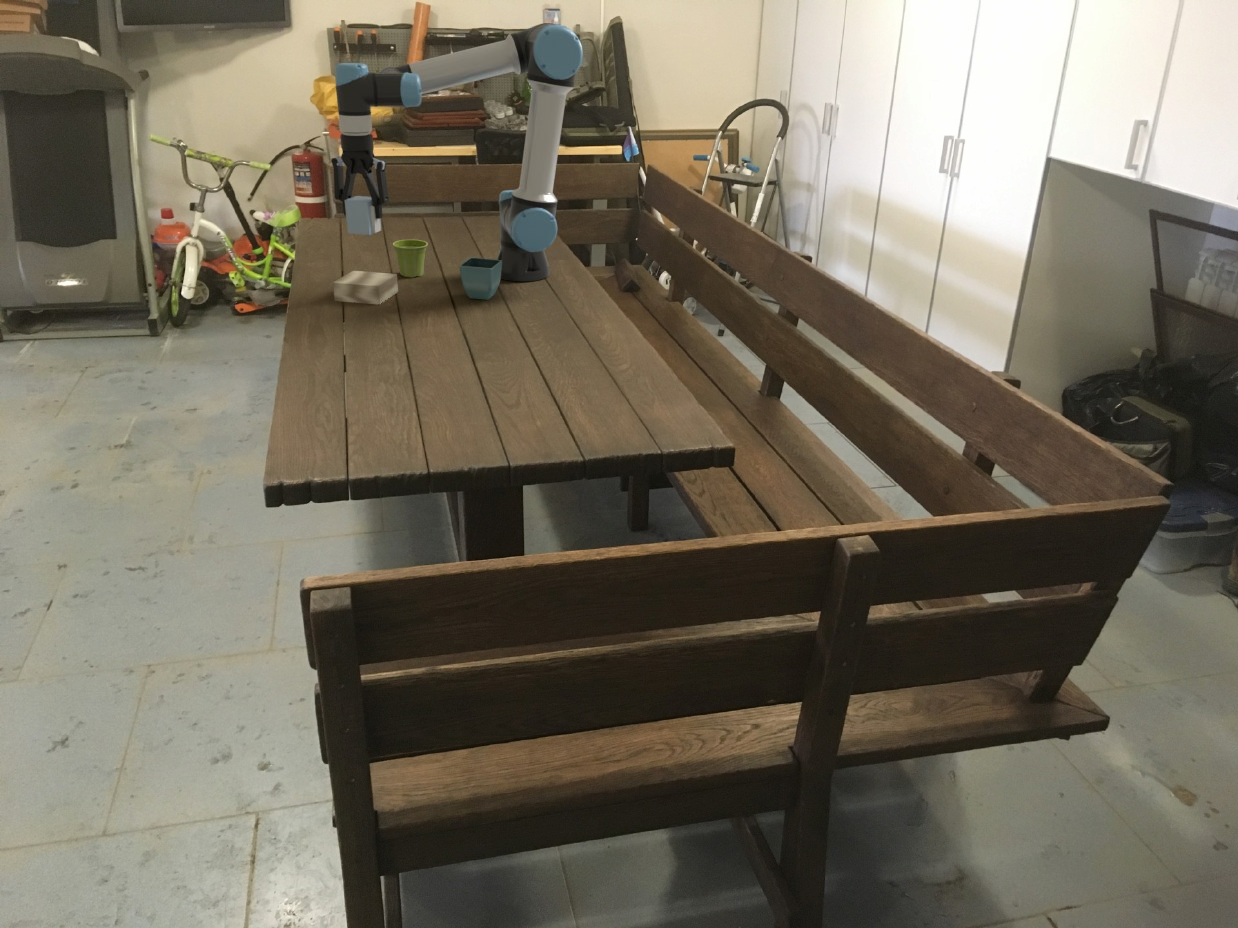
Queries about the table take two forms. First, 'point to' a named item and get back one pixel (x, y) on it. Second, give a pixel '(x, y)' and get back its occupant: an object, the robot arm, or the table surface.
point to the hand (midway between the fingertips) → (364, 230)
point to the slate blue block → (359, 215)
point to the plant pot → (410, 257)
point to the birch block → (365, 287)
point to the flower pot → (480, 277)
